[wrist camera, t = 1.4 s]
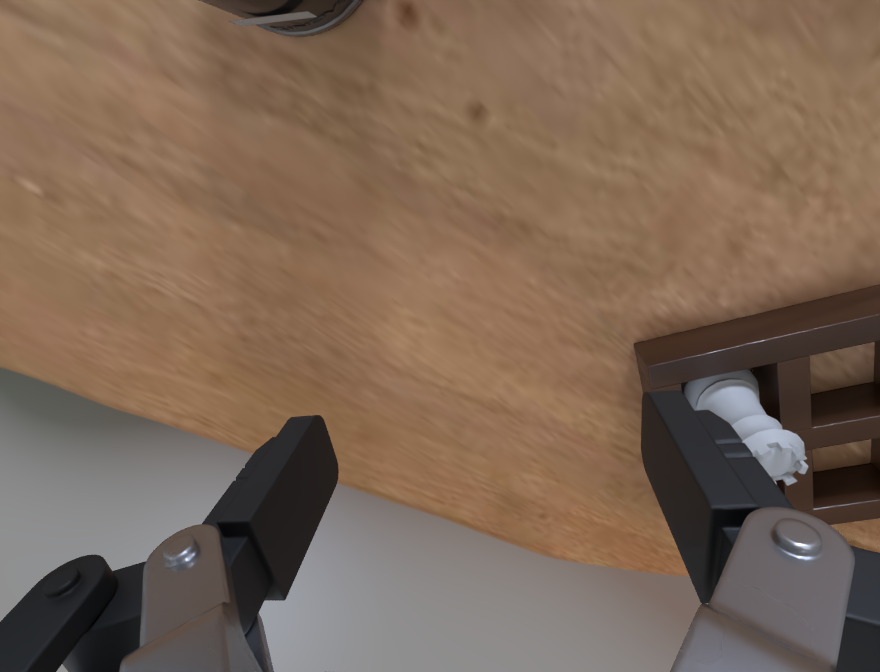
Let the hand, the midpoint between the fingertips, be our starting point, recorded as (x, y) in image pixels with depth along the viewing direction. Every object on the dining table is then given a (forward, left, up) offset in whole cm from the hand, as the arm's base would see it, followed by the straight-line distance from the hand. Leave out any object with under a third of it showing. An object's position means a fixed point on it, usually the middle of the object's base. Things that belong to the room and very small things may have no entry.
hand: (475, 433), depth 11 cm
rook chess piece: (+13, +11, -18) cm, 24 cm away
